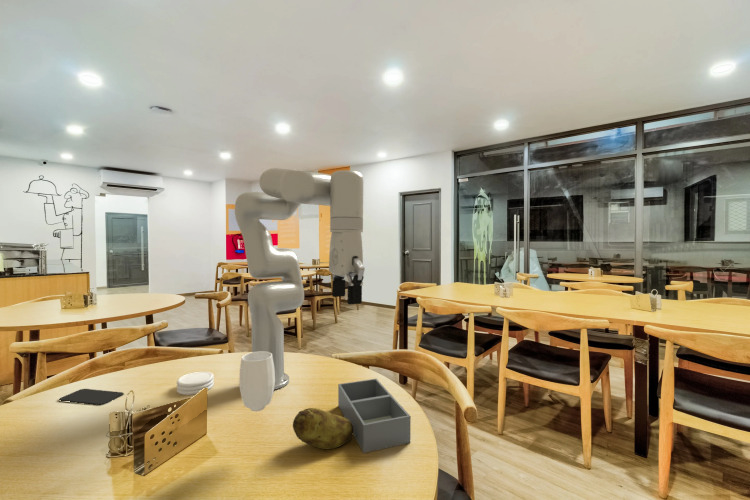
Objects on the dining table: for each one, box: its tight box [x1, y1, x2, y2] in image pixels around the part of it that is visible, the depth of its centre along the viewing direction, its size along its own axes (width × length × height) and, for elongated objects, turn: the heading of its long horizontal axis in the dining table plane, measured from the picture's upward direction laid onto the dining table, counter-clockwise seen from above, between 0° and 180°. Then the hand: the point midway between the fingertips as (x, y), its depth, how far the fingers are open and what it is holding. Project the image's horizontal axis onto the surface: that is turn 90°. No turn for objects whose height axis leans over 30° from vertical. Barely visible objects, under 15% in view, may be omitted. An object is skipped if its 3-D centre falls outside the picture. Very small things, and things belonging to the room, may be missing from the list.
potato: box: [292, 407, 354, 450], centre depth 77 cm, size 8×13×8 cm, turn 88°
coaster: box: [176, 371, 215, 396], centre depth 107 cm, size 10×10×4 cm
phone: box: [58, 388, 125, 406], centre depth 100 cm, size 7×1×15 cm
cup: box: [239, 351, 275, 412], centre depth 74 cm, size 7×7×21 cm
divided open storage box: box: [337, 378, 412, 454], centre depth 87 cm, size 22×11×6 cm, turn 20°
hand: (346, 299), depth 81 cm, fingers open, 9 cm apart
